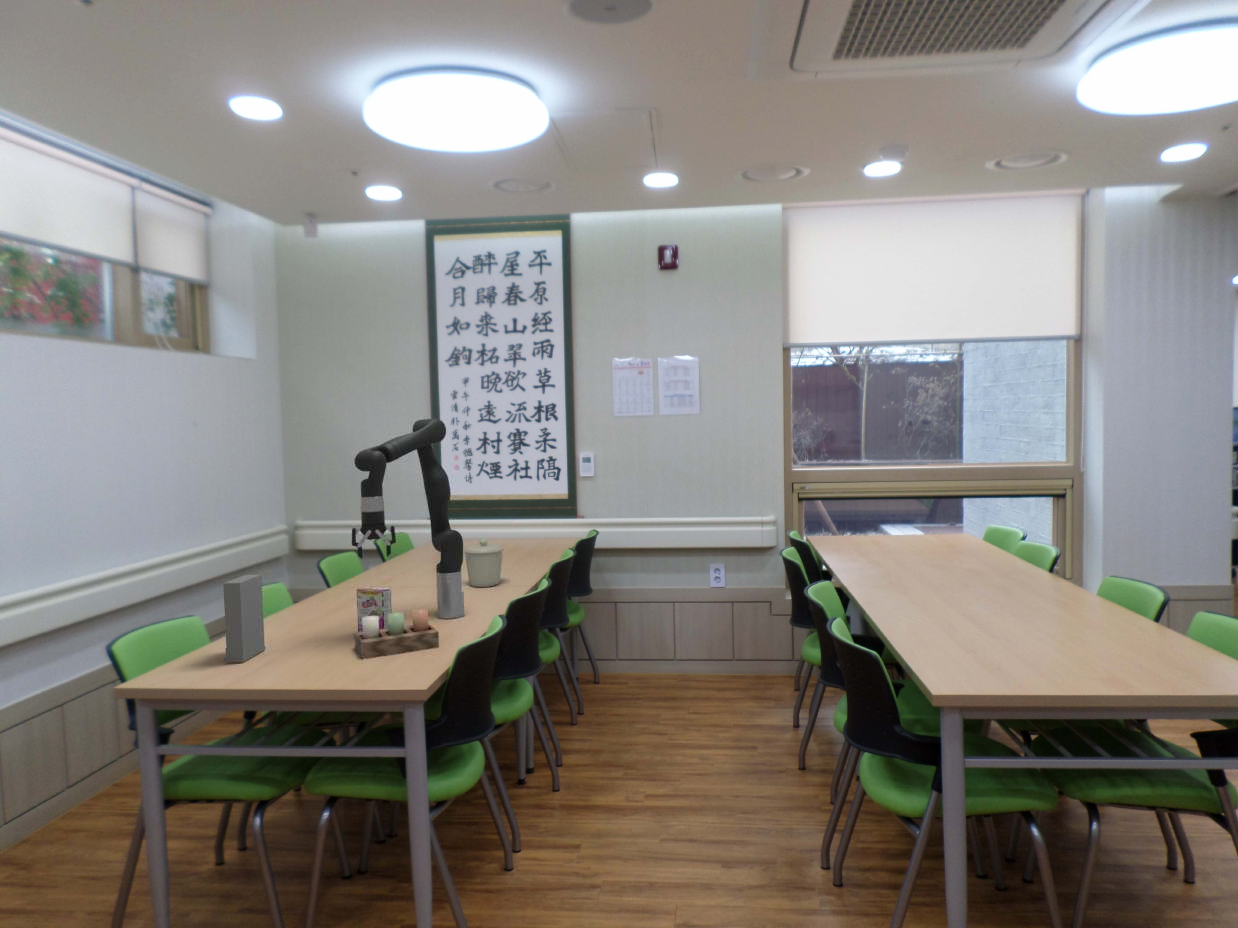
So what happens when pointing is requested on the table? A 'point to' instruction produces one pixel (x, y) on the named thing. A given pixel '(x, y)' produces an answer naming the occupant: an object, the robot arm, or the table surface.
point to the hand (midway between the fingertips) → (374, 557)
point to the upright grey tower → (243, 618)
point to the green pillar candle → (395, 623)
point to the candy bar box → (374, 605)
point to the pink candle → (420, 620)
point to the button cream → (370, 627)
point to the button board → (396, 642)
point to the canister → (484, 564)
